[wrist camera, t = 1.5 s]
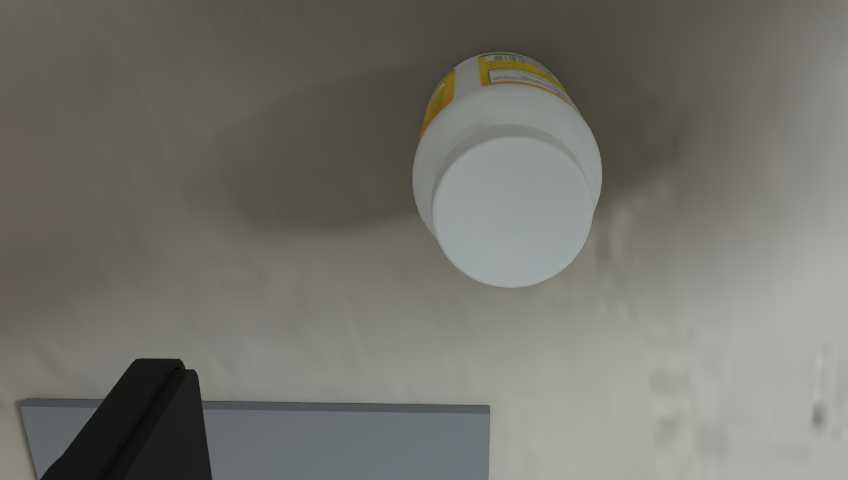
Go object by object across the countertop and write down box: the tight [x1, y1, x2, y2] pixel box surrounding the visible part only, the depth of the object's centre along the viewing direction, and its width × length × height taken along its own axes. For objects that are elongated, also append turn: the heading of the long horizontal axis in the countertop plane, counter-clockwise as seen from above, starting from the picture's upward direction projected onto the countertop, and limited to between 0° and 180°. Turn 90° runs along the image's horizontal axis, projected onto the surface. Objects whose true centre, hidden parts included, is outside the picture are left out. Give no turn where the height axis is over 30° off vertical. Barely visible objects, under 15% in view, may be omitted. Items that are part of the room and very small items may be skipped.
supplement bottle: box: [412, 52, 602, 288], centre depth 23 cm, size 5×5×10 cm
